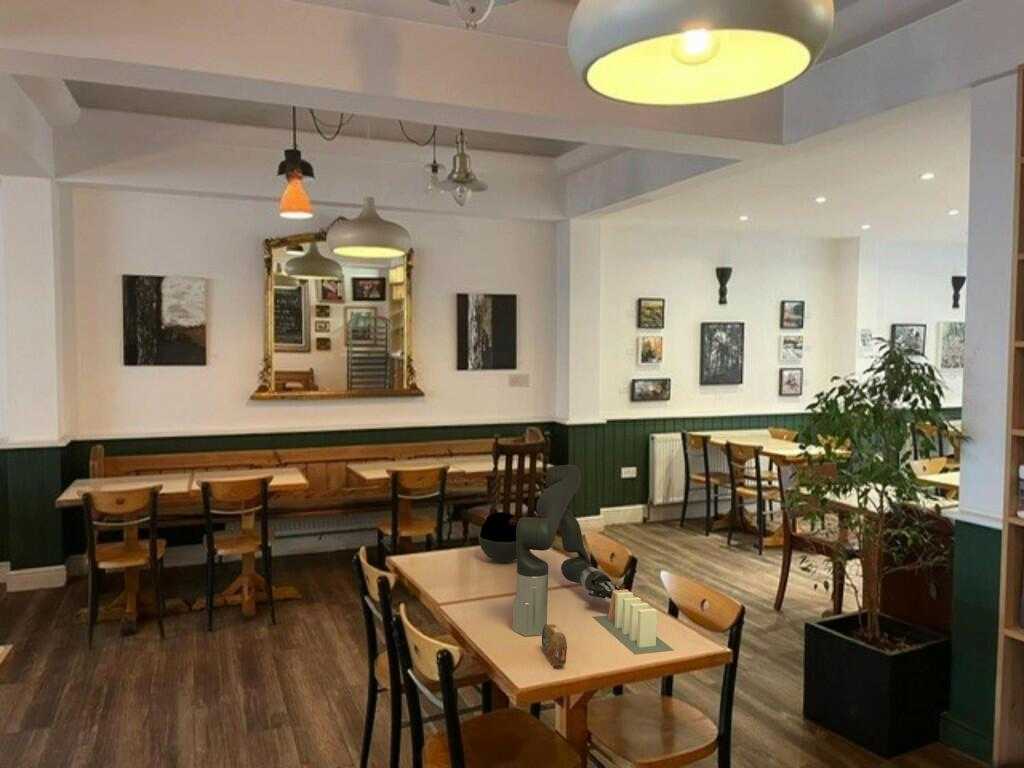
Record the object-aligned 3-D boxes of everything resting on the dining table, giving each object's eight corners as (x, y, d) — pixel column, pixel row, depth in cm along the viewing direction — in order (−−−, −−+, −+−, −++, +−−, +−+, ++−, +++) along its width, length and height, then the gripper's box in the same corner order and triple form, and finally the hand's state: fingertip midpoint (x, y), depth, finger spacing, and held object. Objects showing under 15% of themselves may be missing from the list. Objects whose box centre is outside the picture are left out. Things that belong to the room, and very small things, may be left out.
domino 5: (637, 645, 212) (638, 609, 212) (653, 643, 213) (654, 608, 213) (639, 647, 210) (640, 611, 210) (655, 645, 212) (656, 610, 211)
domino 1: (607, 619, 231) (612, 590, 228) (622, 617, 232) (627, 589, 229) (609, 622, 230) (614, 593, 227) (625, 620, 231) (629, 592, 228)
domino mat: (591, 618, 234) (591, 616, 234) (627, 615, 238) (627, 613, 238) (634, 656, 205) (634, 654, 205) (674, 652, 209) (674, 650, 209)
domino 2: (614, 626, 226) (615, 593, 226) (629, 624, 228) (630, 591, 227) (616, 628, 225) (617, 594, 224) (632, 626, 226) (633, 593, 226)
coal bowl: (507, 552, 309) (508, 506, 308) (540, 563, 293) (541, 515, 293) (467, 559, 296) (468, 512, 295) (499, 572, 281) (500, 521, 280)
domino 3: (621, 632, 222) (622, 598, 221) (637, 630, 223) (638, 597, 223) (624, 634, 220) (625, 600, 220) (639, 632, 221) (640, 599, 221)
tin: (540, 649, 209) (541, 619, 208) (551, 648, 210) (552, 618, 209) (556, 672, 194) (557, 639, 194) (568, 671, 195) (569, 639, 195)
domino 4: (629, 638, 217) (630, 604, 216) (645, 637, 218) (646, 602, 218) (631, 640, 215) (632, 605, 215) (647, 639, 217) (648, 604, 216)
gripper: (576, 571, 245) (598, 587, 228) (614, 569, 248) (638, 585, 232) (576, 594, 245) (597, 612, 228) (613, 591, 249) (637, 609, 232)
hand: (618, 598), depth 230 cm, fingers closed
